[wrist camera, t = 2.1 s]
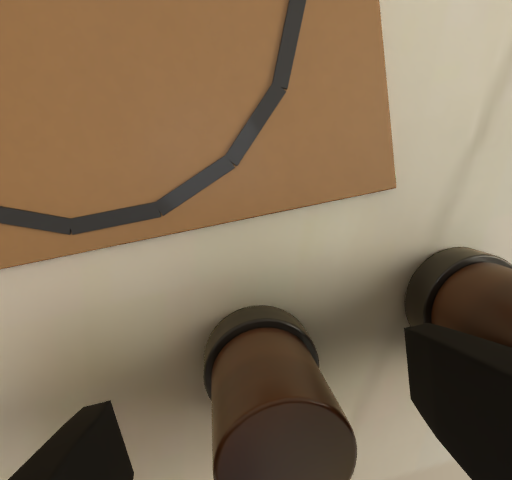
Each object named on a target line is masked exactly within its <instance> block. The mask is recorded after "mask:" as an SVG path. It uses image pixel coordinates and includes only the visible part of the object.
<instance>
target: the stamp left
mask: <svg viewBox="0 0 512 480" xmlns="http://www.w3.org/2000/svg"><path fill="white" fill-rule="evenodd" d="M203 377H204V385H205V389H206V392H207V394H208V397H209V398H210V400H211V402H212V455H213V477H214V480H350V479H351V477H352V474H353V472H354V468H355V465H356V458H357V445H356V438H355V435H354V432H353V429H352V427H351V425H350V423H349V421H348V420H347V418H346V416H345V414H344V412H343V411H342V409H341V407H340V405H339V404H338V402H337V400H336V398H335V396H334V395H333V393H332V391H331V389H330V387H329V386H328V384H327V382H326V380H325V378H324V377H323V375H322V373H321V371H320V369H319V359H318V354H317V351H316V348H315V346H314V344H313V342H312V340H311V339H310V337H309V335H308V334H307V332H306V330H305V329H304V327H303V326H302V324H301V323H300V322H299V321H298V320H297V319H296V318H295V317H294V316H292V315H291V314H289V313H288V312H286V311H284V310H282V309H279V308H276V307H271V306H251V307H247V308H243V309H240V310H238V311H236V312H234V313H232V314H230V315H229V316H227V317H226V318H224V319H223V320H222V321H221V322H220V323H219V324H218V325H217V326H216V327H215V328H214V330H213V331H212V333H211V334H210V336H209V338H208V340H207V343H206V346H205V351H204V375H203Z"/></svg>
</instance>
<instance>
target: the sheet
mask: <svg viewBox="0 0 512 480" xmlns="http://www.w3.org/2000/svg"><path fill="white" fill-rule="evenodd" d="M394 188H396V178H395V167H394V157H393V146H392V135H391V124H390V113H389V102H388V92H387V81H386V70H385V59H384V48H383V38H382V27H381V16H380V5H379V0H0V269H4V268H9V267H14V266H18V265H23V264H28V263H33V262H38V261H43V260H48V259H52V258H57V257H62V256H67V255H72V254H77V253H82V252H87V251H91V250H96V249H101V248H106V247H111V246H116V245H121V244H126V243H130V242H135V241H140V240H145V239H150V238H155V237H160V236H165V235H169V234H174V233H179V232H184V231H189V230H194V229H199V228H204V227H208V226H213V225H218V224H223V223H228V222H233V221H238V220H243V219H247V218H252V217H257V216H262V215H267V214H272V213H277V212H282V211H286V210H291V209H296V208H301V207H306V206H311V205H316V204H321V203H325V202H330V201H335V200H340V199H345V198H350V197H355V196H360V195H364V194H369V193H374V192H379V191H384V190H389V189H394Z"/></svg>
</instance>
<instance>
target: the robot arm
mask: <svg viewBox="0 0 512 480" xmlns="http://www.w3.org/2000/svg"><path fill="white" fill-rule="evenodd" d="M404 331H405V342H406V353H407V363H408V374H409V385H410V395H411V400H412V402H413V403H414V405H415V406H416V408H417V409H418V411H419V412H420V414H421V416H422V417H423V419H424V420H425V422H426V423H427V424H428V426H429V427H430V429H431V430H432V432H433V433H434V435H435V436H436V438H437V439H438V440H439V441H440V442H441V444H442V445H443V446H444V447H445V448H446V450H447V451H448V452H449V453H450V454H451V456H452V457H453V458H454V459H455V460H456V461H457V463H458V464H459V465H460V466H461V467H462V469H463V470H464V471H465V472H466V473H467V474H468V476H469V477H470V478H471V479H472V480H512V348H511V347H508V346H505V345H502V344H499V343H495V342H492V341H489V340H486V339H483V338H479V337H476V336H473V335H470V334H467V333H463V332H460V331H457V330H453V329H450V328H446V327H443V326H439V325H435V324H430V323H424V324H420V325H416V326H412V327H408V328H404ZM133 476H134V472H133V469H132V465H131V462H130V459H129V456H128V453H127V450H126V447H125V444H124V441H123V438H122V434H121V431H120V428H119V425H118V422H117V419H116V416H115V413H114V410H113V407H112V403H111V400H110V401H106V402H102V403H98V404H94V405H90V406H86V407H83V408H82V409H81V410H80V411H78V412H77V413H76V414H75V415H74V416H73V417H72V418H71V419H70V420H68V421H67V422H66V423H65V424H64V425H63V426H62V427H61V428H60V429H59V430H58V431H57V432H56V433H55V434H54V435H53V436H52V437H51V438H50V439H49V440H48V441H47V442H46V443H45V444H44V445H43V446H42V447H41V448H40V449H39V450H38V451H37V452H36V453H35V454H34V455H33V456H32V457H31V458H30V459H29V460H28V461H27V462H26V463H25V464H24V465H22V466H21V467H20V468H19V469H18V470H17V471H16V472H15V473H14V474H13V475H12V476H11V477H10V478H9V479H8V480H133Z"/></svg>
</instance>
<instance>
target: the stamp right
mask: <svg viewBox="0 0 512 480" xmlns="http://www.w3.org/2000/svg"><path fill="white" fill-rule="evenodd" d="M405 311H406V315H407V319H408V321H409V324H410V325H411V327H412V326H416V325H420V324H424V323H430V324H435V325H439V326H443V327H446V328H450V329H453V330H457V331H460V332H463V333H467V334H470V335H473V336H476V337H479V338H483V339H486V340H489V341H492V342H495V343H499V344H502V345H505V346H508V347H511V348H512V265H511V264H510V263H509V262H507V261H506V260H504V259H502V258H500V257H497V256H494V255H491V254H488V253H485V252H481V251H478V250H475V249H471V248H466V247H456V248H450V249H446V250H443V251H441V252H438V253H437V254H435V255H433V256H431V257H430V258H428V259H427V260H426V261H425V262H424V263H423V264H422V265H421V266H420V267H419V268H418V269H417V271H416V272H415V273H414V275H413V277H412V279H411V280H410V283H409V285H408V288H407V291H406V297H405Z"/></svg>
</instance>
